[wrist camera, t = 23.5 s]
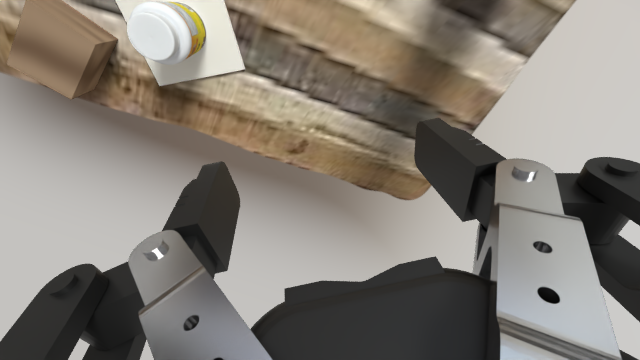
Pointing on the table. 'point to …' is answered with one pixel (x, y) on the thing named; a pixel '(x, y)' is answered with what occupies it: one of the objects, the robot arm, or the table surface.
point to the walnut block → (60, 47)
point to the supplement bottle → (166, 31)
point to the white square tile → (214, 55)
